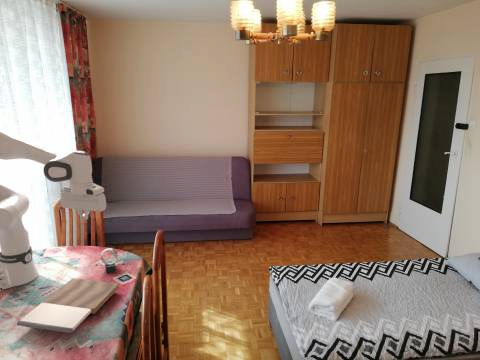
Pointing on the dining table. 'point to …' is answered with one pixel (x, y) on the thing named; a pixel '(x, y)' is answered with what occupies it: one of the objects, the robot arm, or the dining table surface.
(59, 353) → the dining table surface
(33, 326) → the panel
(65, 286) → the brown flat block
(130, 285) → the dining table surface
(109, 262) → the watch
